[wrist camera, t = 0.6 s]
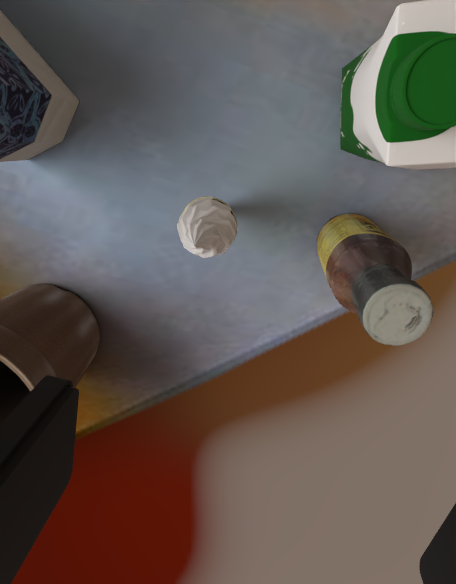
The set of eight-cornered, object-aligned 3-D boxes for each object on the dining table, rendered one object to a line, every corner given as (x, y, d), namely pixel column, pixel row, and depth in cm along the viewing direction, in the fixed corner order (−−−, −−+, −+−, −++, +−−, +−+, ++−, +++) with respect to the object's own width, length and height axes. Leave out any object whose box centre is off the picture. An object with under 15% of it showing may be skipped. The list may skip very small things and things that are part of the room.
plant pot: (50, 401, 53) (-35, 505, 38) (-36, 308, 49) (-168, 384, 34) (142, 349, 49) (86, 444, 34) (56, 242, 45) (-51, 296, 30)
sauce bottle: (386, 248, 41) (480, 340, 23) (333, 278, 43) (380, 386, 24) (355, 195, 39) (430, 248, 21) (301, 229, 41) (327, 305, 23)
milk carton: (332, 57, 35) (400, -27, 17) (438, 46, 34) (637, -58, 16) (330, 160, 38) (386, 183, 20) (427, 153, 37) (581, 171, 19)
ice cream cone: (252, 203, 41) (244, 239, 27) (225, 242, 43) (204, 294, 29) (213, 175, 40) (183, 196, 26) (187, 215, 42) (145, 254, 28)
